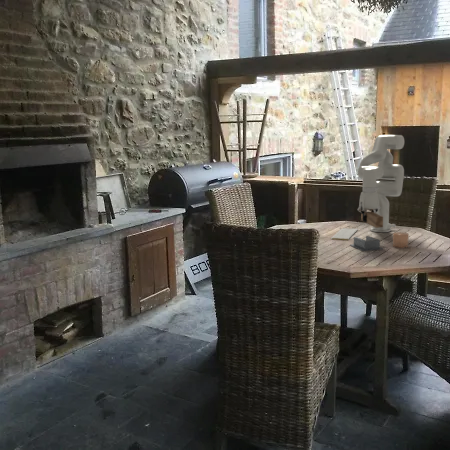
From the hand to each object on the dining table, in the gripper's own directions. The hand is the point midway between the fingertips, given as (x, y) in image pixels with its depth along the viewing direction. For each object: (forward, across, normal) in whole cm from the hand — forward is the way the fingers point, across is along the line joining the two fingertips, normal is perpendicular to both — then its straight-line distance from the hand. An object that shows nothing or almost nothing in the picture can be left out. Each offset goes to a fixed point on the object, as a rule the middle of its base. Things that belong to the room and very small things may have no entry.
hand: (368, 220), depth 300 cm
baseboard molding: (+13, +6, -19) cm, 23 cm away
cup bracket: (+11, +11, +16) cm, 22 cm away
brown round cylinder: (+11, -8, +20) cm, 24 cm away
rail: (+1, 0, +4) cm, 4 cm away
